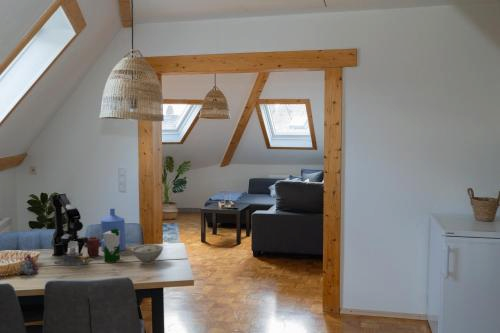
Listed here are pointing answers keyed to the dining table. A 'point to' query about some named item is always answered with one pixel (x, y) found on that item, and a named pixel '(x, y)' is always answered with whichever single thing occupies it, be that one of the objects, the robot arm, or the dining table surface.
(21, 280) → the dining table surface
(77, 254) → the square socket plate
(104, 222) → the water jug
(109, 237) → the milk carton
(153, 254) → the bowl
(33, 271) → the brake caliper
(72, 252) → the gray square beam
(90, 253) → the mechanical component
